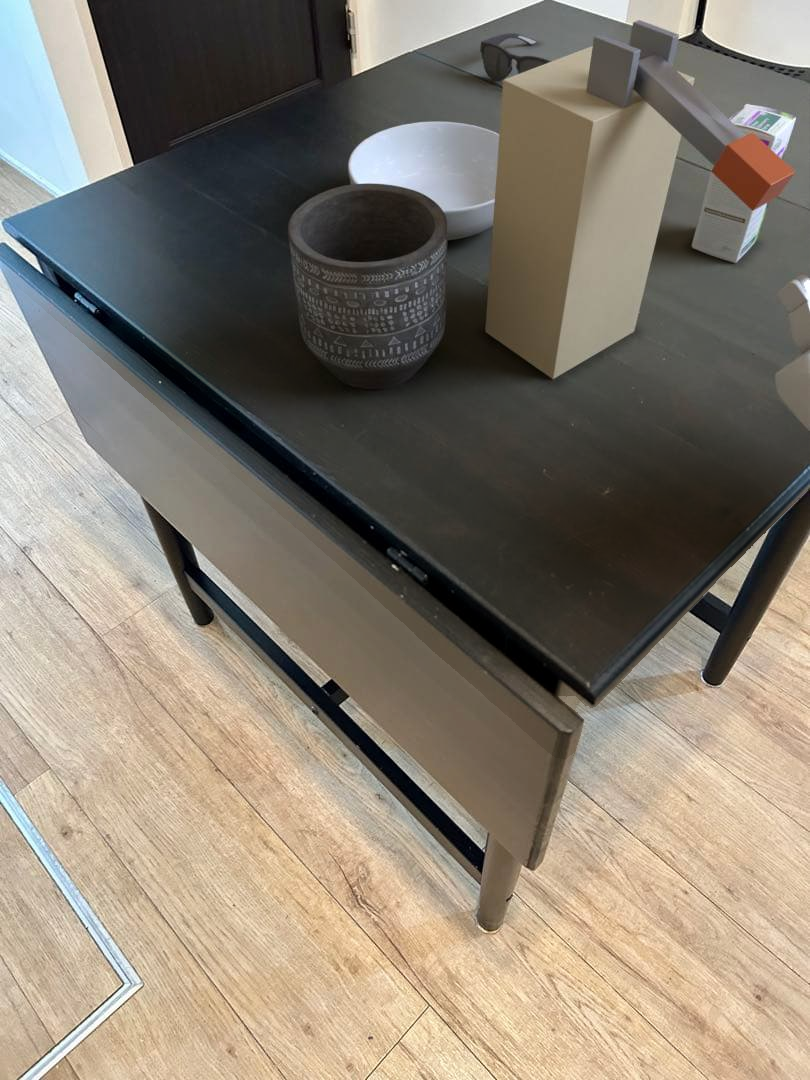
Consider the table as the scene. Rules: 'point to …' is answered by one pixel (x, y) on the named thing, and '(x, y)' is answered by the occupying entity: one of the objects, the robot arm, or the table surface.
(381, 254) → the planter
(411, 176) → the serving bowl
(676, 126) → the lever
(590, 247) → the lever stand
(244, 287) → the table surface
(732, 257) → the syrup box
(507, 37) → the sunglasses
